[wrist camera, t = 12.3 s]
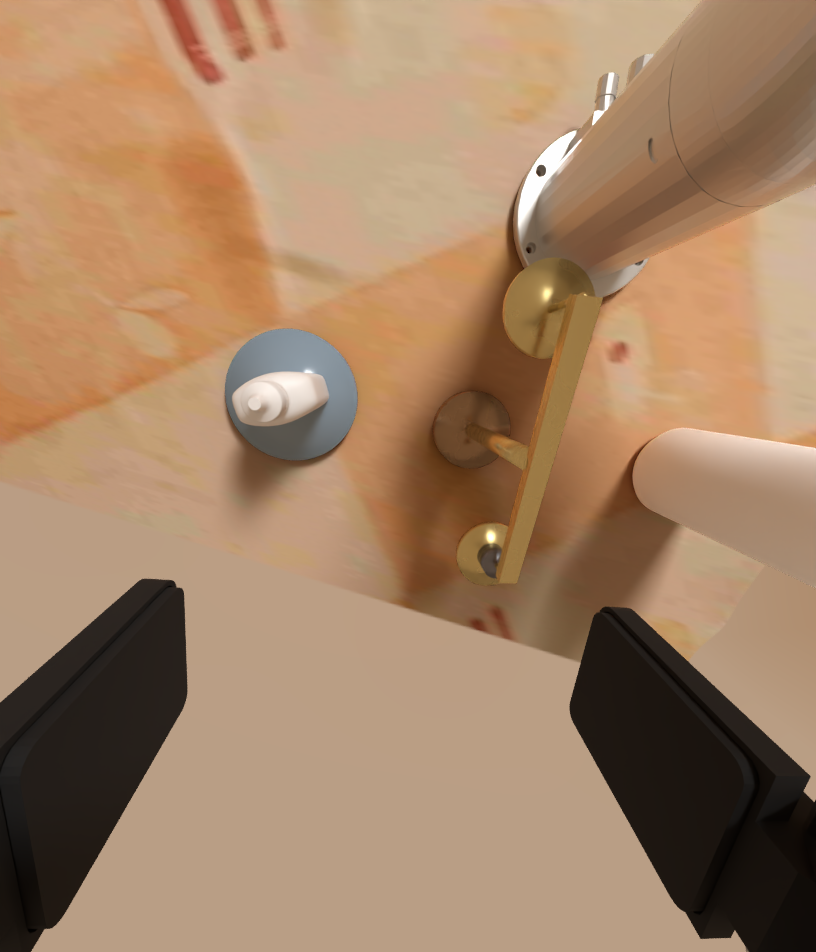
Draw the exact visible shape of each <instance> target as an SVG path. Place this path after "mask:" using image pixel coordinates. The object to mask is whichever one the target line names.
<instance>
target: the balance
mask: <svg viewBox="0 0 816 952" xmlns="http://www.w3.org/2000/svg"><path fill="white" fill-rule="evenodd" d="M602 300H603V298H602V297H596V296H595V291H594V287H593V285H592V282H591V280H590V278H589V277H588V275H587V274H586V273H585V271H584V270H583V269H582V268H581V267H580V266H578V265H577V264H576V263H574V262H572V261H570V260H567V259H563V258H555V257H552V258H545V259H541V260H539V261H536V262H534V263H533V264H531V265H529V266H528V267H526V268H525V269H524V270H523V271H521V272H520V273H519V274H518V275H517V276H516V277H515V279H514V280H513V281H512V283H511V284H510V286H509V288H508V290H507V292H506V295H505V298H504V302H503V310H502V317H503V324H504V328H505V331H506V334H507V336H508V338H509V339H510V341H511V343H512V344H513V345H514V346H515V347H516V348H517V349H518V350H519V351H521V352H522V353H524V354H526V355H528V356H530V357H533V358H539V359H548V358H552V362H551V366H550V369H549V373H548V377H547V381H546V385H545V388H544V392H543V396H542V400H541V404H540V407H539V411H538V415H537V419H536V423H535V426H534V430H533V434H532V438H531V442H530V445H529V446H527V445H524V444H522V443H520V442H517V441H515V440H513V439H510V438H509V436H510V420H509V416H508V413H507V411H506V409H505V408H504V406H503V405H502V404H501V402H500V401H498V400H497V399H496V398H495V397H493V396H491V395H489V394H487V393H483V392H477V391H466V392H461V393H458V394H456V395H454V396H452V397H450V398H449V399H448V400H446V401H445V402H444V403H443V404H442V406H441V407H440V408H439V410H438V412H437V414H436V416H435V419H434V423H433V437H434V441H435V444H436V446H437V448H438V450H439V451H440V453H441V454H442V455H443V456H444V457H445V458H446V459H447V460H448V461H450V462H451V463H453V464H454V465H457V466H459V467H463V468H478V467H482V466H485V465H487V464H489V463H491V462H492V461H494V460H495V459H496V458H497V457H498V456H500V457H502V458H504V459H505V460H507V461H508V462H510V463H512V464H513V465H515V466H517V467H518V468H520V469H522V470H523V472H522V476H521V480H520V483H519V487H518V491H517V495H516V499H515V502H514V506H513V510H512V514H511V518H510V521H509V525H508V526H507V525H505V524H502V523H499V522H484V523H480V524H477V525H475V526H473V527H472V528H470V529H469V530H468V531H467V532H466V533H465V534H464V535H463V536H462V538H461V539H460V541H459V543H458V546H457V550H456V560H457V564H458V566H459V569H460V571H461V572H462V574H463V575H464V576H465V577H466V578H467V579H468V580H469V581H471V582H473V583H475V584H478V585H483V586H491V585H496V584H499V583H516V584H517V581H518V578H519V574H520V571H521V568H522V564H523V561H524V558H525V555H526V551H527V548H528V545H529V541H530V538H531V535H532V531H533V528H534V525H535V521H536V518H537V515H538V512H539V508H540V505H541V502H542V498H543V495H544V492H545V488H546V485H547V482H548V479H549V475H550V472H551V469H552V465H553V462H554V459H555V455H556V452H557V449H558V446H559V442H560V439H561V436H562V432H563V429H564V426H565V422H566V419H567V416H568V412H569V409H570V406H571V403H572V399H573V396H574V393H575V389H576V386H577V383H578V379H579V376H580V373H581V370H582V366H583V363H584V360H585V356H586V353H587V350H588V346H589V343H590V340H591V337H592V333H593V330H594V327H595V323H596V320H597V317H598V313H599V310H600V307H601V303H602Z"/></svg>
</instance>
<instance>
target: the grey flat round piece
mask: <svg viewBox="0 0 816 952" xmlns="http://www.w3.org/2000/svg"><path fill="white" fill-rule="evenodd" d="M274 372H304V373H314V374H319V375H321V376H323V378H324V379H325V382H326V386H327V389H328V393H329V399H328V401H327V402H326V403H325V404H323V405H322V406H321V407H319V408H317V409H316V410H314V411H312V412H310V413H308V414H307V415H305V416H303V417H301V418H299V419H297V420H294V421H292V422H289V423H286V424H282V425H276V426H253V425H248V424H245V423H243V422H241V421H240V420H239V418H238V416H237V414H236V411H235V409H234V406H233V402H232V395H233V393H234V392H235V391H236V390H237V389H238V388H239V387H240V386H242V385H243V384H245V383H246V382H248V381H250V380H252V379H254V378H256V377H258V376H261V375H264V374H268V373H274ZM225 397H226V404H227V408H228V411H229V414H230V417H231V419H232V421H233V423H234V425H235V426H236V428H237V429H238V431H239V432H240V433H241V435H242V436H243V437H244V438H245V439H246V440H247V441H248V442H249V443H250V444H252V445H253V446H254V447H256V448H257V449H259V450H260V451H262V452H264V453H266V454H268V455H271V456H273V457H276V458H280V459H285V460H306V459H311V458H315V457H318V456H320V455H322V454H325V453H326V452H328V451H330V450H331V449H333V448H334V447H335V446H336V445H338V444H339V443H340V442H341V440H342V439H343V438H344V437H345V436H346V434H347V433H348V431H349V429H350V427H351V426H352V423H353V421H354V418H355V415H356V411H357V403H358V392H357V386H356V382H355V378H354V375H353V373H352V371H351V368H350V367H349V365H348V363H347V362H346V360H345V359H344V358H343V356H342V355H341V354H340V353H339V352H338V351H337V350H336V349H335V348H334V347H333V346H332V345H330V344H329V343H328V342H327V341H325V340H323V339H322V338H320V337H318V336H316V335H314V334H311V333H309V332H305V331H302V330H296V329H277V330H272V331H268V332H265V333H263V334H260V335H258V336H256V337H254V338H253V339H251V340H250V341H249V342H247V343H246V344H245V345H244V346H243V347H242V348H241V349H240V350H239V351H238V352H237V354H236V355H235V357H234V358H233V360H232V362H231V364H230V367H229V369H228V373H227V376H226V382H225Z"/></svg>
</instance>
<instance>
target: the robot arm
mask: <svg viewBox="0 0 816 952" xmlns="http://www.w3.org/2000/svg"><path fill="white" fill-rule="evenodd" d="M618 81H619V76H618V74H616V73H607V74H604V75H603V76H602V77H600V78H599V81H598V86H597V92H596V99H595V103H596V105H595V111H594V113H593V114H592V116H591V117H590V118H589V119H588V120H587V122H586V123H585V124H584V125H583V126H582V128H580V129H576V130H573V131H571V132H569V133H567V134H565V135H563V136H561V137H559V138H558V139H557V140H555V141H554V142H553V143H552V144H550V145H549V146H548V147H547V148H546V149H545V150H544V151H543V152H542V153H541V155H540V156H539V157H538V158H537V159H536V161H535V162H534V163H533V165H532V166H531V168H530V169H529V171H528V172H527V174H526V176H525V178H524V180H523V182H522V184H521V186H520V188H519V192H518V195H517V199H516V202H515V207H514V216H513V233H514V241H515V245H516V250H517V254H518V256H519V258H520V261H521V263H522V266H523V267H524V269H525V268H526V267H528V266H529V265H531V264H533V263H534V262H536V261H539V260H541V259H545V258H552V257H555V258H563V259H567V260H570V261H572V262H574V263H576V264H577V265H578V266H580V267H581V268H582V269H583V270H584V271H585V273H586V274H587V275H588V277H589V278H590V280H591V282H592V285H593V287H594V291H595V296H596V297H602V298H603V297H605V296H608V295H610V294H613V293H615V292H616V291H618V290H619V289H621V288H623V287H624V286H626V285H627V284H628V283H629V282H630V281H631V280H633V279H634V278H635V277H636V276H637V275H638V274H639V272H640V271H641V270H642V269H643V268H644V266H645V265H646V263H647V262H648V260H649V258H650V257H651V256H654V255H656V254H658V253H661V252H663V251H665V250H668V249H670V248H672V247H674V246H677V245H679V244H681V243H684V242H686V241H688V240H690V239H693V238H695V237H697V236H700V235H702V234H704V233H707V232H709V231H711V230H713V229H716V228H718V227H720V226H723V225H725V224H727V223H730V222H732V221H734V220H736V219H739V218H741V217H743V216H746V215H748V214H750V213H752V212H755V211H757V210H759V209H762V208H764V207H766V206H769V205H771V204H773V203H775V202H778V201H780V200H782V199H784V198H786V197H788V196H791V195H793V194H795V193H797V192H800V191H802V190H804V189H806V188H809V187H811V186H812V185H814V184H816V0H702V1H701V2H700V3H699V4H698V5H697V6H696V7H695V9H694V10H693V11H692V12H691V13H690V14H689V16H688V17H687V18H686V19H685V20H684V21H683V22H682V24H681V25H680V26H679V27H678V28H677V29H676V30H675V32H674V33H673V34H672V35H671V36H670V37H669V38H668V40H667V41H666V42H665V43H664V44H663V45H662V46H661V48H660V49H659V50H658V51H657V52H656V53H655V54H647V55H643V56H641V57H639V58H637V59H636V60H634V61H633V62H632V63H631V65H630V67H629V72H628V78H627V84H626V88H625V89H624V90H623V91H622V92H621V93H620V94H619V96H618V97H617V98H616V93H617V87H618ZM536 173H537V174H538V175H539V177H538V176H537V174H536ZM526 249H529V253H527V251H526ZM186 697H187V664H186V637H185V608H184V592H183V590H182V588H176V584H175V582H174V581H172V580H159V579H142V580H140V581H138V582H137V583H136V584H135V585H134V586H133V587H132V588H130V589H129V590H128V591H127V592H126V593H125V594H124V595H122V596H121V597H120V598H119V599H118V600H117V601H116V602H115V603H114V604H112V605H111V606H110V607H109V608H108V609H106V610H105V611H104V612H103V613H102V614H101V615H100V616H99V617H97V618H96V619H95V620H94V621H93V622H92V623H91V624H89V625H88V626H87V627H86V628H85V629H84V630H83V631H81V632H80V633H79V634H78V635H77V636H76V637H75V638H73V639H72V640H71V641H70V642H69V643H68V644H67V645H65V646H64V647H63V648H62V649H61V650H60V651H59V652H57V653H56V654H55V655H54V656H53V657H52V658H51V659H49V660H48V661H47V662H46V663H45V664H44V665H43V666H41V667H40V668H39V669H38V670H37V671H36V672H35V673H33V674H32V675H31V676H30V677H29V678H28V679H27V680H26V681H24V683H22V684H21V685H20V686H19V687H18V688H16V689H15V690H14V691H13V692H12V693H11V694H10V695H8V696H7V697H6V698H5V699H4V700H3V701H2V702H0V952H31V951H32V949H33V947H34V946H35V944H36V942H37V941H38V939H39V937H40V935H41V934H42V932H43V930H44V929H50V928H53V927H54V926H55V925H56V924H57V923H58V922H59V921H60V919H61V918H62V917H63V915H64V914H65V912H66V910H67V909H68V907H69V905H70V903H71V902H72V900H73V898H74V897H75V895H76V893H77V892H78V890H79V888H80V886H81V885H82V883H83V881H84V879H85V878H86V876H87V874H88V872H89V870H90V869H91V867H92V865H93V864H94V862H95V860H96V859H97V857H98V855H99V853H100V852H101V850H102V848H103V846H104V845H105V843H106V841H107V840H108V838H109V836H110V834H111V833H112V831H113V829H114V827H115V826H116V824H117V822H118V820H119V819H120V817H121V815H122V813H123V812H124V810H125V808H126V807H127V805H128V803H129V801H130V800H131V798H132V796H133V794H134V793H135V791H136V789H137V788H138V786H139V784H140V782H141V781H142V779H143V777H144V775H145V774H146V772H147V770H148V769H149V767H150V765H151V763H152V762H153V760H154V758H155V756H156V755H157V753H158V751H159V749H160V748H161V746H162V744H163V742H164V741H165V739H166V737H167V736H168V734H169V732H170V730H171V728H172V727H173V725H174V723H175V722H176V720H177V718H178V717H179V715H180V713H181V711H182V709H183V707H184V704H185V701H186ZM570 714H571V718H572V721H573V723H574V725H575V726H576V728H577V730H578V732H579V734H580V735H581V737H582V739H583V741H584V743H585V744H586V746H587V748H588V750H589V752H590V753H591V755H592V757H593V759H594V760H595V762H596V764H597V766H598V768H599V769H600V771H601V773H602V775H603V777H604V779H605V780H606V782H607V784H608V786H609V788H610V789H611V791H612V793H613V795H614V796H615V798H616V800H617V802H618V804H619V805H620V807H621V809H622V811H623V813H624V814H625V816H626V818H627V820H628V822H629V823H630V825H631V827H632V829H633V830H634V832H635V834H636V836H637V838H638V840H639V841H640V843H641V845H642V847H643V848H644V850H645V852H646V854H647V856H648V858H649V859H650V861H651V862H652V865H653V866H654V868H655V870H656V872H657V874H658V876H659V877H660V879H661V881H662V883H663V884H664V886H665V888H666V890H667V892H668V893H669V895H670V897H671V898H672V900H673V902H674V903H675V904H676V905H677V907H678V908H679V909H681V910H682V911H684V912H686V914H687V916H688V918H689V919H690V921H691V923H692V924H693V926H694V928H695V930H696V931H697V933H698V935H699V937H700V938H701V939H709V938H731V936H732V934H733V932H734V930H735V931H736V932H737V933H738V935H739V937H740V938H741V940H742V942H743V943H744V945H745V946H746V952H816V800H815V802H813V801H812V800H811V799H810V798H809V797H808V796H807V795H806V794H805V793H804V792H803V791H804V789H805V787H806V785H807V783H808V781H809V779H810V775H809V774H808V773H806V772H805V771H804V770H803V769H802V768H801V767H800V766H799V765H798V764H797V763H796V762H795V761H794V760H792V758H790V757H789V756H788V755H787V754H786V753H785V752H784V751H783V750H782V749H781V748H780V747H779V746H778V745H777V744H776V743H774V742H773V741H772V740H771V739H770V738H769V737H768V736H767V735H766V734H765V733H764V732H763V731H762V730H761V729H759V728H758V727H757V726H756V725H755V724H754V723H753V722H752V721H751V720H750V719H749V718H748V717H747V716H746V715H745V714H743V713H742V712H741V711H740V710H739V709H738V708H737V707H736V706H735V705H734V704H733V703H732V702H730V701H729V700H728V699H727V698H726V697H725V696H724V695H723V694H722V693H721V692H720V691H719V690H718V689H717V688H715V686H714V685H712V684H711V683H710V682H709V681H708V680H707V679H706V678H705V677H704V676H703V675H702V674H701V673H700V672H698V671H697V670H696V669H695V668H694V667H693V666H692V665H691V664H690V663H689V662H688V661H687V660H686V659H685V658H684V657H683V656H681V655H680V654H679V653H678V652H677V651H676V650H675V649H674V648H673V647H672V646H671V645H670V644H669V643H668V642H666V641H665V640H664V639H663V638H662V637H661V636H660V635H659V634H658V633H657V632H656V631H655V630H654V629H653V628H652V627H650V626H649V625H648V624H647V623H646V622H645V621H644V620H643V619H642V618H641V617H640V616H639V615H638V614H637V613H635V612H634V611H633V610H632V609H630V608H620V607H603V608H602V609H601V610H600V612H598V613H596V614H595V615H594V617H593V620H592V624H591V627H590V631H589V635H588V638H587V642H586V646H585V649H584V653H583V657H582V660H581V664H580V668H579V671H578V675H577V679H576V683H575V686H574V690H573V694H572V697H571V701H570Z"/></svg>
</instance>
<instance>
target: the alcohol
mask: <svg viewBox="0 0 816 952" xmlns="http://www.w3.org/2000/svg"><path fill="white" fill-rule="evenodd" d="M632 479H633V486H634V489H635V492H636V495H637V497H638V499H639V500H640V502H641V503H642V504H643V505H644V506H645V507H647V508H648V509H650V510H651V511H653V512H655V513H658V514H660V515H662V516H664V517H666V518H668V519H670V520H672V521H675V522H677V523H679V524H681V525H683V526H685V527H687V528H689V529H692V530H694V531H696V532H698V533H700V534H702V535H704V536H706V537H708V538H711V539H713V540H715V541H717V542H719V543H721V544H723V545H725V546H728V547H730V548H732V549H734V550H736V551H738V552H740V553H742V554H744V555H747V556H749V557H751V558H753V559H755V560H757V561H759V562H761V563H764V564H766V565H768V566H770V567H772V568H774V569H776V570H778V571H781V572H783V573H785V574H787V575H789V576H791V577H793V578H796V579H798V580H800V581H802V582H804V583H806V584H808V585H810V586H812V587H814V588H816V448H812V447H806V446H799V445H793V444H786V443H780V442H774V441H767V440H761V439H755V438H748V437H742V436H735V435H729V434H723V433H716V432H710V431H704V430H697V429H691V428H676V429H672V430H669V431H666V432H664V433H662V434H660V435H659V436H657V437H656V438H654V439H653V440H651V441H650V442H649V443H648V444H647V445H646V446H645V447H644V448H643V449H642V450H641V452H640V453H639V455H638V457H637V459H636V461H635V464H634V467H633V473H632Z"/></svg>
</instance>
